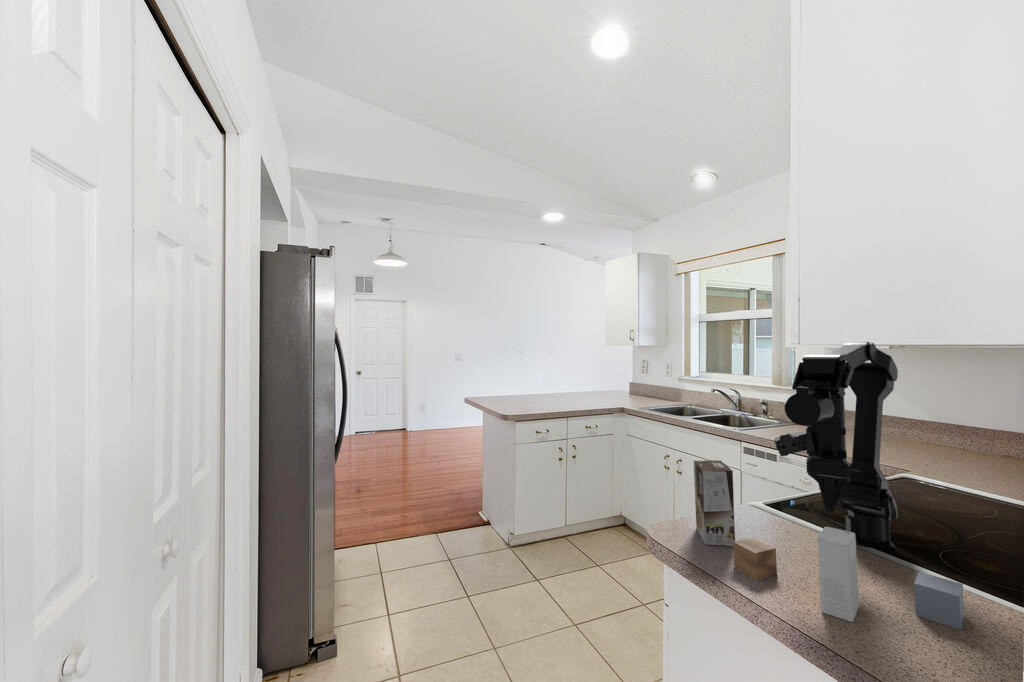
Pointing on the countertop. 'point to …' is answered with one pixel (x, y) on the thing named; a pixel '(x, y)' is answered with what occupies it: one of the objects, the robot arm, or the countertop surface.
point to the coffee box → (714, 502)
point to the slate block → (939, 600)
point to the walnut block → (755, 558)
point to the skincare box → (838, 573)
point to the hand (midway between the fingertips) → (828, 503)
